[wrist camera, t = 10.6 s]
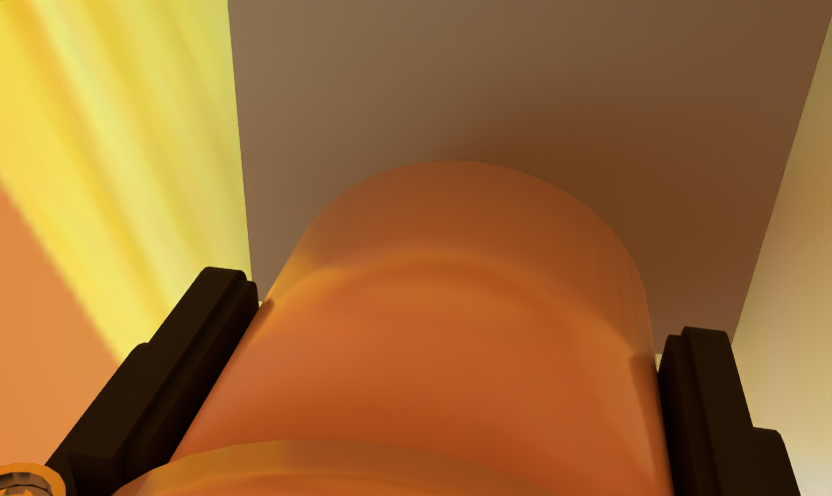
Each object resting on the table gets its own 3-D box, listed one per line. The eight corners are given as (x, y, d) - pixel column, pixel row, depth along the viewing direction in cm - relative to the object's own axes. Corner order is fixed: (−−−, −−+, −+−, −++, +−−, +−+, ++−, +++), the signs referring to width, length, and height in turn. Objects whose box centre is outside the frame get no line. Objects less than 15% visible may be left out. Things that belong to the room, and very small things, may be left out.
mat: (832, -24, 15) (841, -16, 15) (722, 347, 20) (725, 362, 19) (232, -66, 17) (221, -61, 16) (261, 287, 21) (254, 300, 21)
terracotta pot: (722, 160, 11) (908, 644, 5) (634, 502, 14) (678, 1032, 8) (247, 113, 12) (-99, 475, 6) (273, 446, 15) (75, 891, 9)
